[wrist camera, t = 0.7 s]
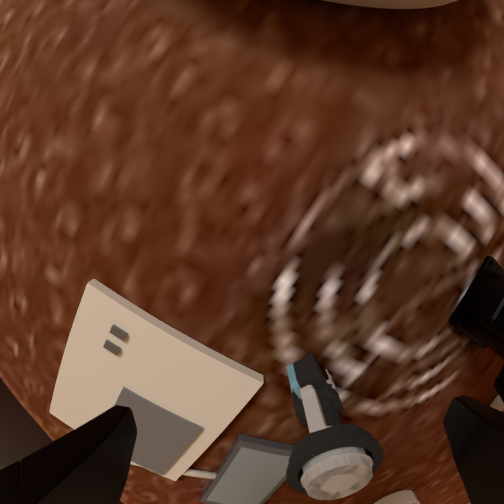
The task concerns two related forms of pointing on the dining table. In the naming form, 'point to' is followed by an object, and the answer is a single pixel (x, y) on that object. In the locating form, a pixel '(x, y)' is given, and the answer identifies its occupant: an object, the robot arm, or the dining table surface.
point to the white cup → (399, 498)
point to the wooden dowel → (196, 473)
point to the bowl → (395, 3)
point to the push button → (327, 439)
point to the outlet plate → (148, 381)
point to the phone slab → (249, 472)
